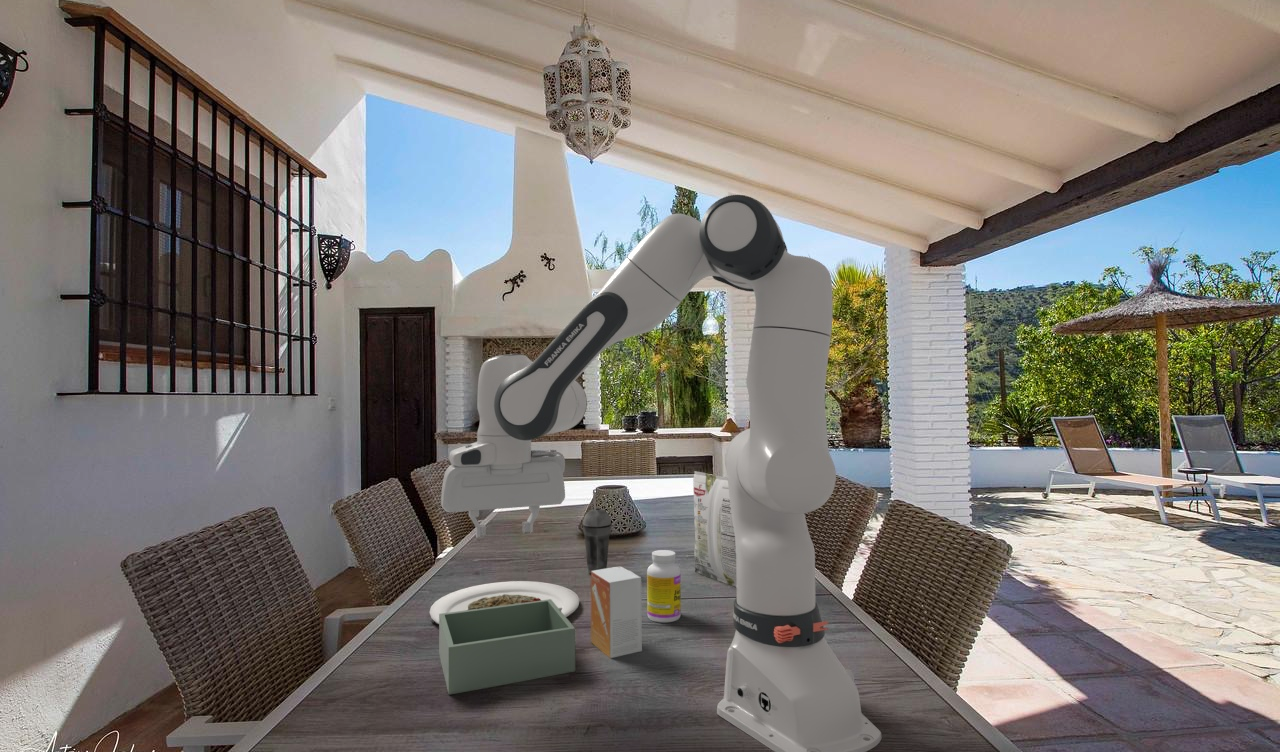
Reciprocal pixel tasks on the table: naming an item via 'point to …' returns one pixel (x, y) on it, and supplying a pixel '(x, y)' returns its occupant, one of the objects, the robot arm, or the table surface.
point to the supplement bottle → (663, 588)
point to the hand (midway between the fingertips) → (504, 534)
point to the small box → (616, 611)
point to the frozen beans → (714, 528)
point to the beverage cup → (596, 537)
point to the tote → (504, 645)
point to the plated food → (505, 597)
